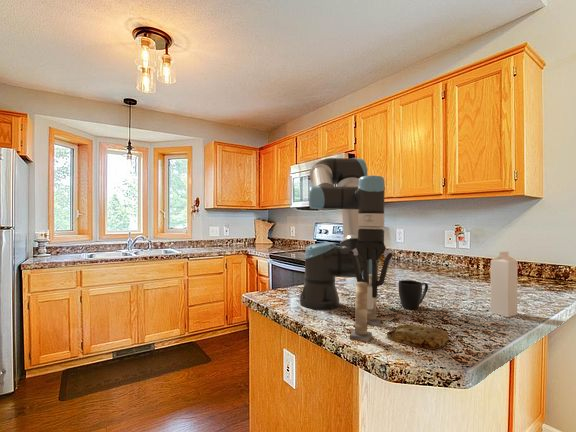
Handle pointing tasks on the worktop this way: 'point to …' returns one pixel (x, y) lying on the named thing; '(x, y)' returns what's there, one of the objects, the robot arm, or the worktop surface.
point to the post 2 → (372, 310)
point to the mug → (411, 293)
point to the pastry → (419, 336)
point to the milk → (503, 285)
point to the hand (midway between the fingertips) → (370, 307)
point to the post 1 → (361, 314)
